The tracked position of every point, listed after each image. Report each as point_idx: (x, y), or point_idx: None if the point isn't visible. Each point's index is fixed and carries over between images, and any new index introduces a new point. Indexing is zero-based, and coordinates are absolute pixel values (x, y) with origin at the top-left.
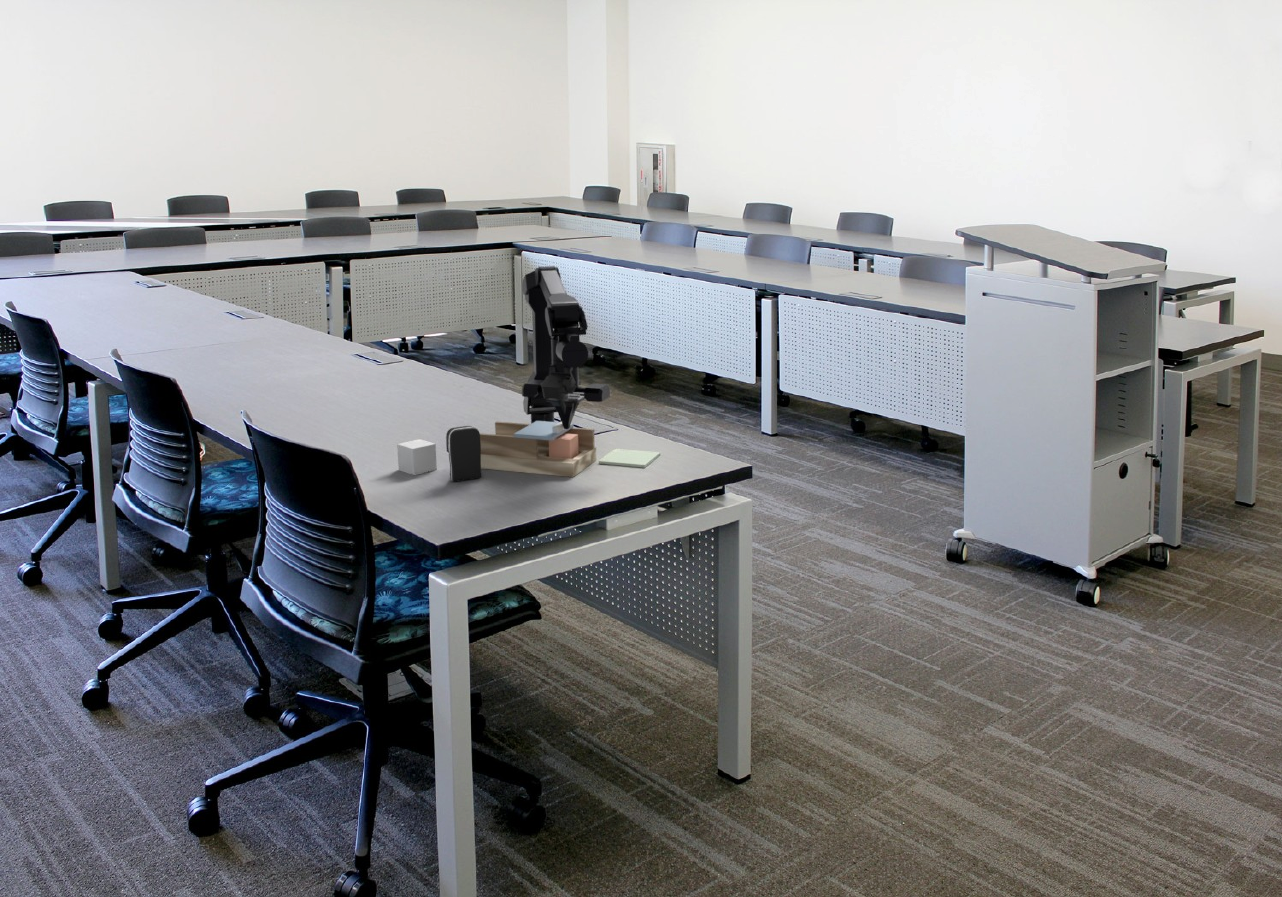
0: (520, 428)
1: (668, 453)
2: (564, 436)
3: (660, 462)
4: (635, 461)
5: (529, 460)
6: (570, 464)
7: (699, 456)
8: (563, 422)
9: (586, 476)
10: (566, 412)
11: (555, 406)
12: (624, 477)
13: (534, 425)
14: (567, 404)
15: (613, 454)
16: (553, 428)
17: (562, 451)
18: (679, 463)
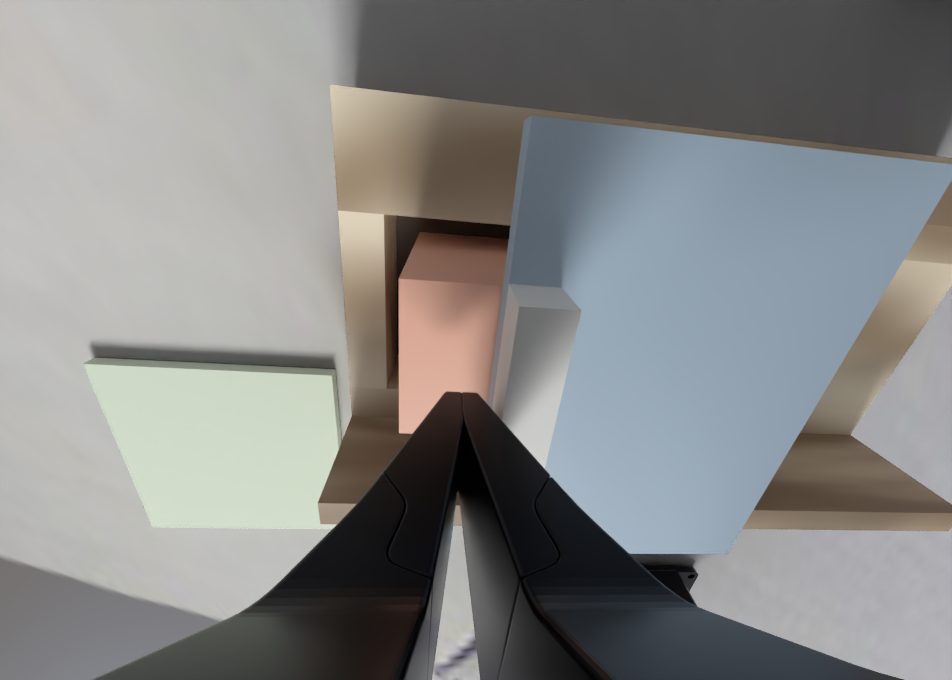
0: (792, 490)
1: (145, 538)
2: (476, 365)
3: (90, 440)
4: (164, 403)
5: (658, 124)
6: (352, 87)
7: (8, 534)
8: (483, 420)
9: (288, 135)
10: (429, 509)
11: (659, 592)
12: (70, 164)
13: (740, 462)
14: (313, 662)
15: (315, 469)
16: (563, 301)
17: (464, 258)
18: (4, 445)
